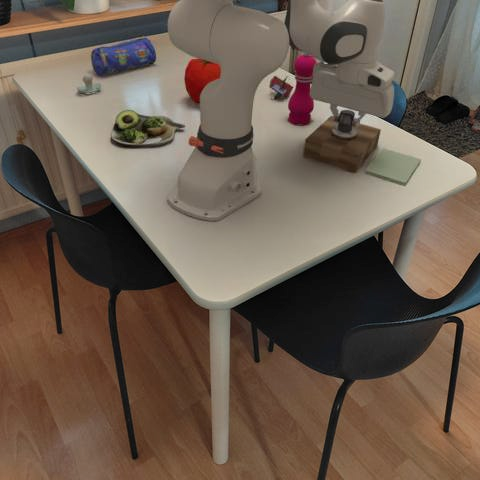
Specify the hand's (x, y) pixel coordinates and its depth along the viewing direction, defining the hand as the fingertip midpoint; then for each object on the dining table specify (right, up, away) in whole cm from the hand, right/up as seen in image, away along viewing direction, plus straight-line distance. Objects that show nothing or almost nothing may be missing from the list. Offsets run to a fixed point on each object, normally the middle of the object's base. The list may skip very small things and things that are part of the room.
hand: (345, 123), depth 125 cm
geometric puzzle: (-14, +15, +30) cm, 37 cm away
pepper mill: (-9, +5, +18) cm, 21 cm away
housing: (0, -6, +5) cm, 8 cm away
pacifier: (-73, +16, +30) cm, 81 cm away
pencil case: (-65, +29, +45) cm, 84 cm away
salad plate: (-53, 0, +11) cm, 54 cm away
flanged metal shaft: (0, -6, +5) cm, 8 cm away
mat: (+12, -11, 0) cm, 16 cm away
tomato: (-37, +13, +26) cm, 47 cm away
